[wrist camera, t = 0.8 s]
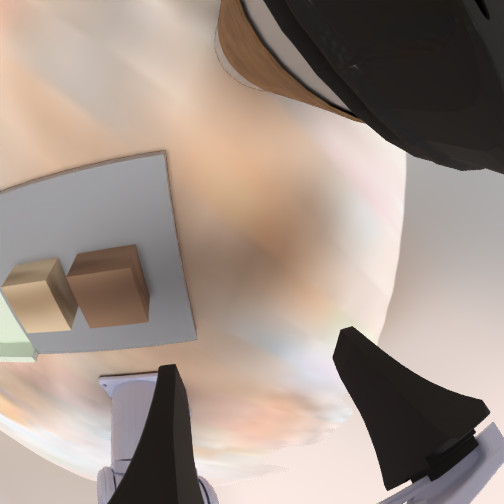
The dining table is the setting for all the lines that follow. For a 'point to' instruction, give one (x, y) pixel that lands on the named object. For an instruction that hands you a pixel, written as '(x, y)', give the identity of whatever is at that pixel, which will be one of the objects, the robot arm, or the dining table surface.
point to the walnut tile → (110, 287)
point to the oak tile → (41, 296)
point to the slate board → (102, 244)
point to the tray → (13, 338)
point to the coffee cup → (382, 67)
